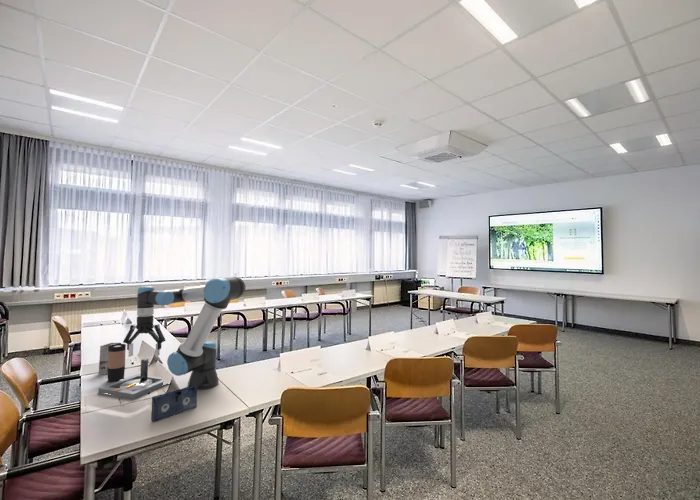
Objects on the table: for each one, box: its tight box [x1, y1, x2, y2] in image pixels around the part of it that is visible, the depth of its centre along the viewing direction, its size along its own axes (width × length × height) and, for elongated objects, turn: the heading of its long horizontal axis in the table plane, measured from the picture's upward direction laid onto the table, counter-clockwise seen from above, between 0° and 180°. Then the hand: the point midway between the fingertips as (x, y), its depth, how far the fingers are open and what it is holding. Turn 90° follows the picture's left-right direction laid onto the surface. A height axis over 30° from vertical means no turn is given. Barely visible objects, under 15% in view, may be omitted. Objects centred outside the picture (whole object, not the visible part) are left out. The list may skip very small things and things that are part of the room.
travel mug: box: [107, 343, 127, 383], centre depth 178 cm, size 8×8×20 cm
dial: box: [120, 358, 152, 391], centre depth 167 cm, size 14×14×12 cm
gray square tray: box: [97, 373, 164, 400], centre depth 167 cm, size 22×22×4 cm
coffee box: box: [98, 342, 122, 375], centre depth 194 cm, size 9×6×16 cm
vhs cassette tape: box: [150, 385, 198, 423], centre depth 143 cm, size 18×3×10 cm, turn 141°
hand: (144, 355), depth 173 cm, fingers open, 13 cm apart
